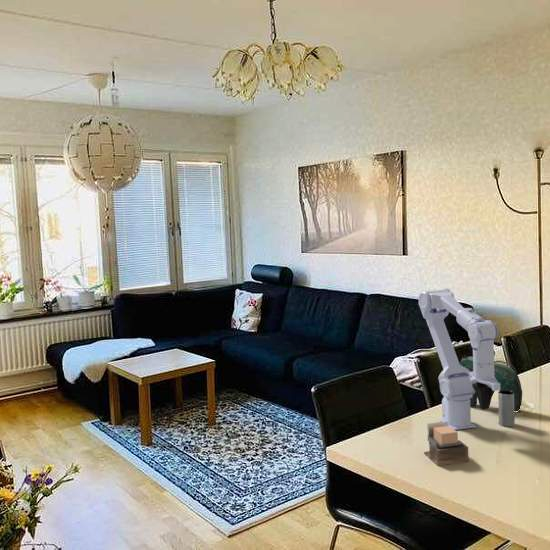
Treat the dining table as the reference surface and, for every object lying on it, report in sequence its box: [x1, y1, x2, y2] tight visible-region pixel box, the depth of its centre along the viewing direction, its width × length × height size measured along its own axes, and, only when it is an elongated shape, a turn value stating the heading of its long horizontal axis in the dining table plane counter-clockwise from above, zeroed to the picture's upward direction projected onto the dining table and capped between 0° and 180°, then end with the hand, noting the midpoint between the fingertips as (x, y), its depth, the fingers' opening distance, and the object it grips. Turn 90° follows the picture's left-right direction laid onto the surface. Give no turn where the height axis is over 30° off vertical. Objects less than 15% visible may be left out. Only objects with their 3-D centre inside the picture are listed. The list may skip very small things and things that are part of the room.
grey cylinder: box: [497, 390, 516, 428], centre depth 182 cm, size 4×4×10 cm
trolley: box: [426, 421, 461, 449], centre depth 161 cm, size 8×6×6 cm
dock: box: [423, 439, 470, 467], centre depth 160 cm, size 8×9×4 cm
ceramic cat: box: [459, 354, 523, 411], centre depth 198 cm, size 20×6×20 cm, turn 56°
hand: (484, 408), depth 171 cm, fingers closed
